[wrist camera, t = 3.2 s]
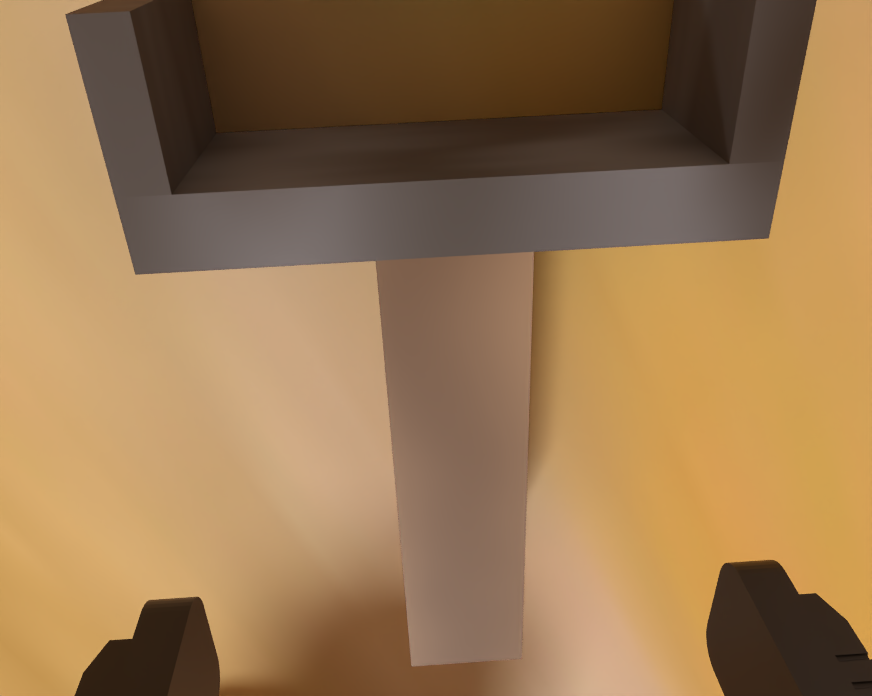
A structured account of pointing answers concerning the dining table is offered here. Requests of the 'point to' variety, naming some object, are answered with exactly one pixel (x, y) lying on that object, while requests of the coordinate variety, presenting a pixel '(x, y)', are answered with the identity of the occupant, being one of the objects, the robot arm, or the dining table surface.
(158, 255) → the long-handled tray
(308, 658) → the dining table surface
